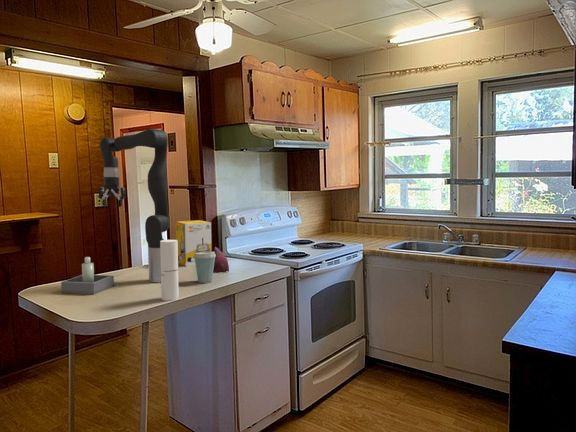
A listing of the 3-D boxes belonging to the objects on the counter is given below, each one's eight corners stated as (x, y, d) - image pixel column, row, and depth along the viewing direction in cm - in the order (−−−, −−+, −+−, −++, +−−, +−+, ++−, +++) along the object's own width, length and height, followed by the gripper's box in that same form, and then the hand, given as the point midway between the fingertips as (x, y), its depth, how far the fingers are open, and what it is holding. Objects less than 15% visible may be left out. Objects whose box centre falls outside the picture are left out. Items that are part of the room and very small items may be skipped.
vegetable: (208, 277, 247) (200, 251, 245) (218, 271, 256) (210, 246, 255) (224, 274, 243) (216, 248, 241) (233, 268, 252) (225, 243, 250)
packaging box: (185, 266, 261) (184, 223, 259) (176, 262, 274) (175, 221, 272) (211, 263, 270) (211, 222, 267) (201, 259, 283) (200, 220, 281)
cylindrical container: (174, 301, 189) (172, 242, 187) (158, 300, 190) (157, 241, 188) (181, 296, 196) (180, 239, 194) (166, 295, 197) (165, 239, 195)
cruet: (96, 286, 210) (95, 256, 209) (90, 288, 206) (89, 258, 204) (86, 285, 211) (85, 256, 210) (80, 288, 206) (79, 258, 205)
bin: (113, 285, 215) (113, 275, 214) (94, 294, 199) (93, 283, 199) (83, 284, 218) (83, 274, 217) (61, 292, 202) (61, 281, 201)
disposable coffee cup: (190, 283, 220) (189, 253, 219) (201, 278, 231) (201, 249, 229) (209, 284, 217) (208, 254, 215) (219, 280, 227) (219, 250, 226)
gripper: (94, 176, 234) (96, 207, 235) (120, 176, 231) (121, 207, 233) (103, 176, 241) (104, 206, 243) (127, 176, 239) (128, 206, 240)
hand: (112, 206), depth 238 cm, fingers open, 8 cm apart
